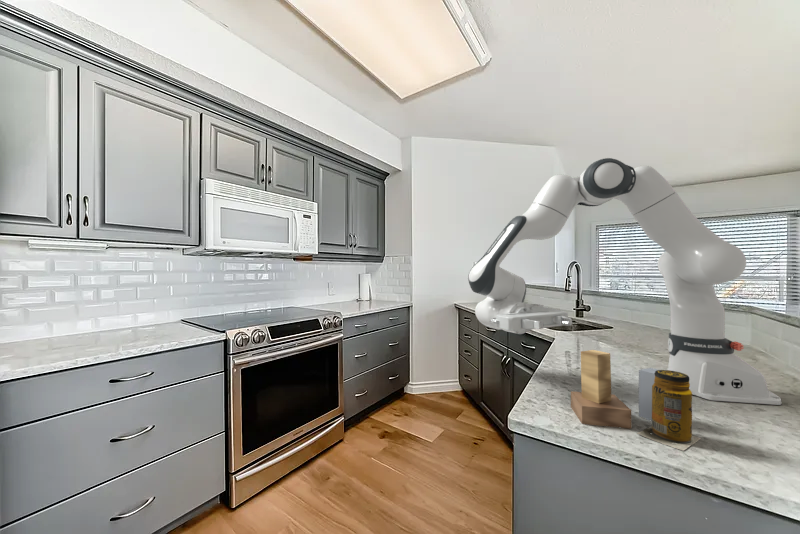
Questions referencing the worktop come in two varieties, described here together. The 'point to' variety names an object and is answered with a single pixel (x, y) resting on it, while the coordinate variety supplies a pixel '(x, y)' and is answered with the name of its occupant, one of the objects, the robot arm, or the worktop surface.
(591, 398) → the oak pillar
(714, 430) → the worktop surface
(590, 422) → the walnut plinth
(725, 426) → the worktop surface
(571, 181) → the robot arm
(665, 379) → the condiment
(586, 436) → the worktop surface
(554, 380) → the worktop surface
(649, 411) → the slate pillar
